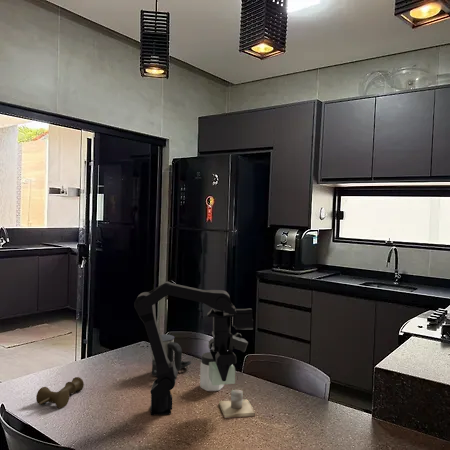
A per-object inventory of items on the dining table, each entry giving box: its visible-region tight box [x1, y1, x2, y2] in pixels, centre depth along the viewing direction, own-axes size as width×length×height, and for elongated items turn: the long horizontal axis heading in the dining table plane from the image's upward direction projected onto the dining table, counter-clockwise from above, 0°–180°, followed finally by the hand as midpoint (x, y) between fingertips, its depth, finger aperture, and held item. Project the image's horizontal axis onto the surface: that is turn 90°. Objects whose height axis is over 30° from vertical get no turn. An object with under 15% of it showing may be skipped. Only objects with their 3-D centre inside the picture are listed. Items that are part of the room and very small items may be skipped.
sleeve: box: [209, 362, 236, 386], centre depth 142 cm, size 7×7×5 cm
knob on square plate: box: [218, 389, 256, 419], centre depth 143 cm, size 10×10×6 cm
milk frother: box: [151, 334, 192, 378], centre depth 177 cm, size 14×16×15 cm
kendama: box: [36, 376, 85, 409], centre depth 148 cm, size 6×10×20 cm
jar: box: [199, 351, 225, 392], centre depth 162 cm, size 9×8×12 cm
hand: (221, 376), depth 142 cm, fingers closed on sleeve, 7 cm apart
